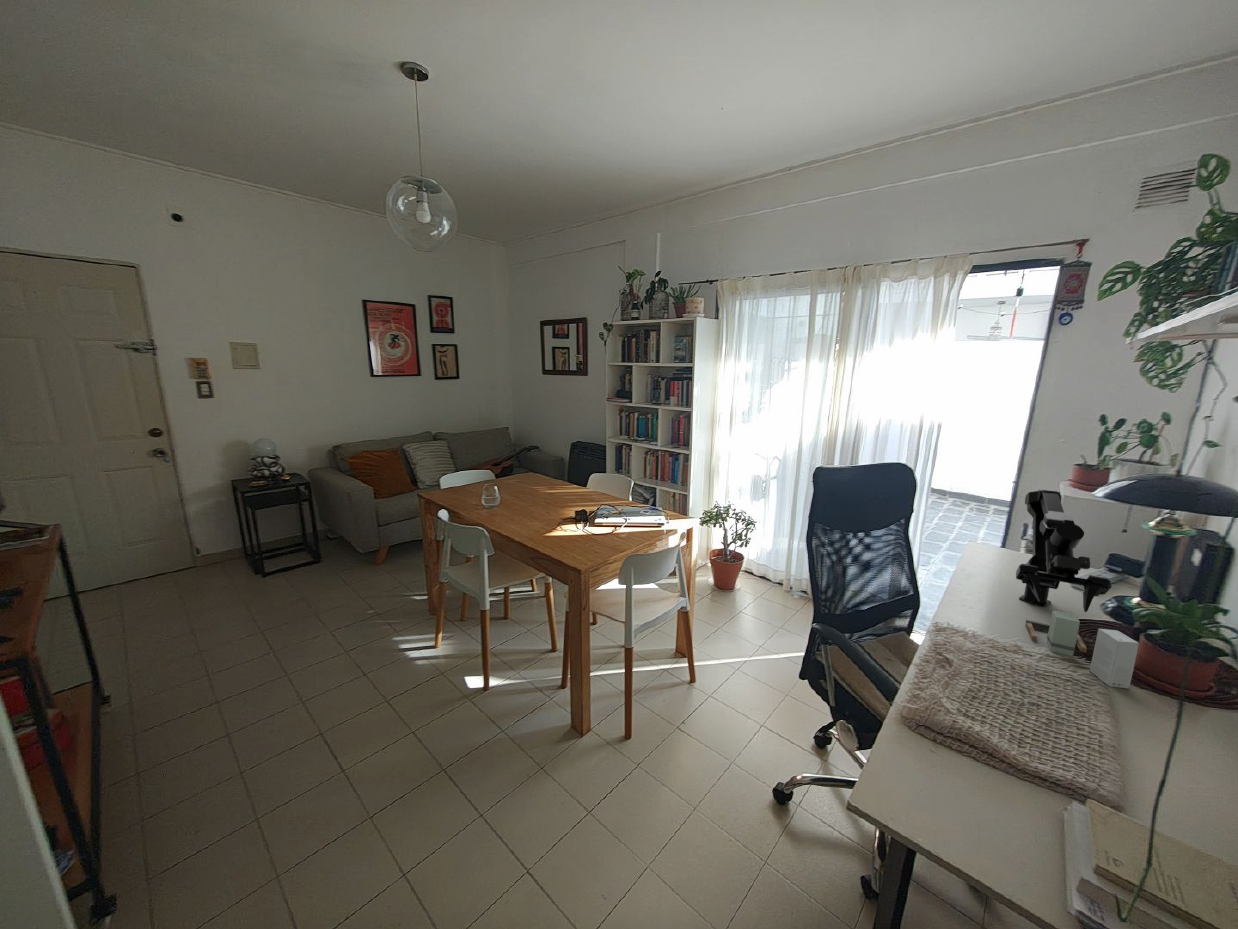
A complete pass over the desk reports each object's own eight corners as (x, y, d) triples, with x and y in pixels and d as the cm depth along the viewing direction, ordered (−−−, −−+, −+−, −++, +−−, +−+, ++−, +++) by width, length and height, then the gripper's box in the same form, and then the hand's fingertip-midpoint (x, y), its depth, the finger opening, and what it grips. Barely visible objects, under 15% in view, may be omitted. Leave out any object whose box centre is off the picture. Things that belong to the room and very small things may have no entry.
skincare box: (1130, 689, 106) (1140, 643, 104) (1108, 687, 107) (1118, 641, 105) (1108, 673, 112) (1117, 629, 110) (1088, 671, 113) (1097, 628, 111)
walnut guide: (1025, 625, 134) (1026, 619, 134) (1076, 636, 128) (1077, 631, 128) (1031, 640, 126) (1032, 634, 126) (1085, 653, 120) (1087, 647, 120)
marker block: (1046, 642, 125) (1052, 610, 123) (1068, 648, 123) (1075, 614, 121) (1049, 650, 122) (1056, 617, 120) (1073, 656, 119) (1080, 622, 117)
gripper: (1024, 537, 130) (1025, 586, 123) (1116, 550, 120) (1123, 605, 113) (1015, 554, 138) (1015, 601, 131) (1101, 568, 128) (1106, 620, 121)
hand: (1062, 606), depth 124 cm, fingers open, 9 cm apart
